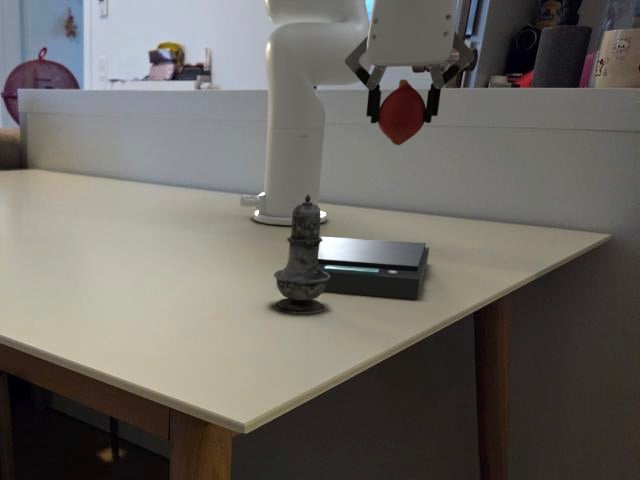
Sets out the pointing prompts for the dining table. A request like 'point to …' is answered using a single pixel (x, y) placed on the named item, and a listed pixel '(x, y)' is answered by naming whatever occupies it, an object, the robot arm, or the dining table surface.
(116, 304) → the dining table surface
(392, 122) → the onion
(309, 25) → the robot arm
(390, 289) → the scale
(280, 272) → the salt shaker
